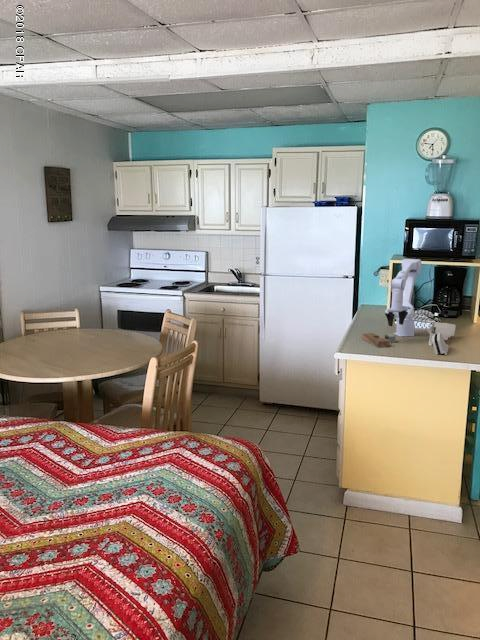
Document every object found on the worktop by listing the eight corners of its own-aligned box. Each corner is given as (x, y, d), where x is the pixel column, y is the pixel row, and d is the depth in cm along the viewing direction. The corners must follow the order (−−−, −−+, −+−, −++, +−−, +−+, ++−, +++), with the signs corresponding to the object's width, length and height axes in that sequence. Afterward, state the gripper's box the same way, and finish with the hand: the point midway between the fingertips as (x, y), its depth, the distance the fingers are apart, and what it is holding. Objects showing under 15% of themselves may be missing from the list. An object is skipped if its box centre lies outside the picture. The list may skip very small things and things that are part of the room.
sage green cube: (391, 340, 290) (391, 333, 289) (394, 342, 286) (395, 335, 285) (384, 341, 289) (385, 334, 288) (388, 343, 285) (388, 335, 284)
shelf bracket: (424, 344, 282) (428, 321, 282) (444, 345, 300) (448, 323, 299) (434, 346, 279) (438, 322, 278) (454, 347, 296) (457, 325, 295)
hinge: (446, 355, 261) (440, 336, 260) (436, 357, 263) (430, 338, 262) (448, 347, 275) (443, 329, 275) (439, 349, 278) (434, 331, 277)
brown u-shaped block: (373, 338, 295) (373, 333, 294) (390, 346, 278) (390, 340, 277) (361, 339, 293) (362, 333, 292) (377, 347, 276) (378, 341, 275)
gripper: (401, 298, 292) (400, 322, 295) (381, 300, 286) (380, 325, 289) (411, 300, 286) (409, 324, 289) (391, 302, 280) (389, 327, 282)
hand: (395, 325), depth 288 cm, fingers open, 7 cm apart
